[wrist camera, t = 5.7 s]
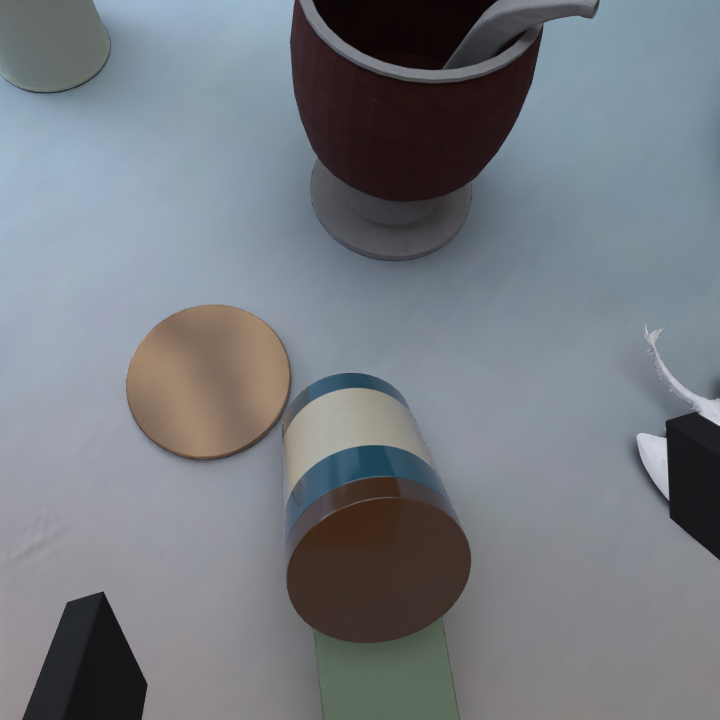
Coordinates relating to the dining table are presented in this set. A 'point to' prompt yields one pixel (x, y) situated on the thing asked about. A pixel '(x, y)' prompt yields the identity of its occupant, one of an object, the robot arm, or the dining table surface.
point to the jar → (366, 514)
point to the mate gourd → (410, 109)
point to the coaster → (208, 382)
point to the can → (51, 43)
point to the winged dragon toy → (657, 446)
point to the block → (387, 678)
